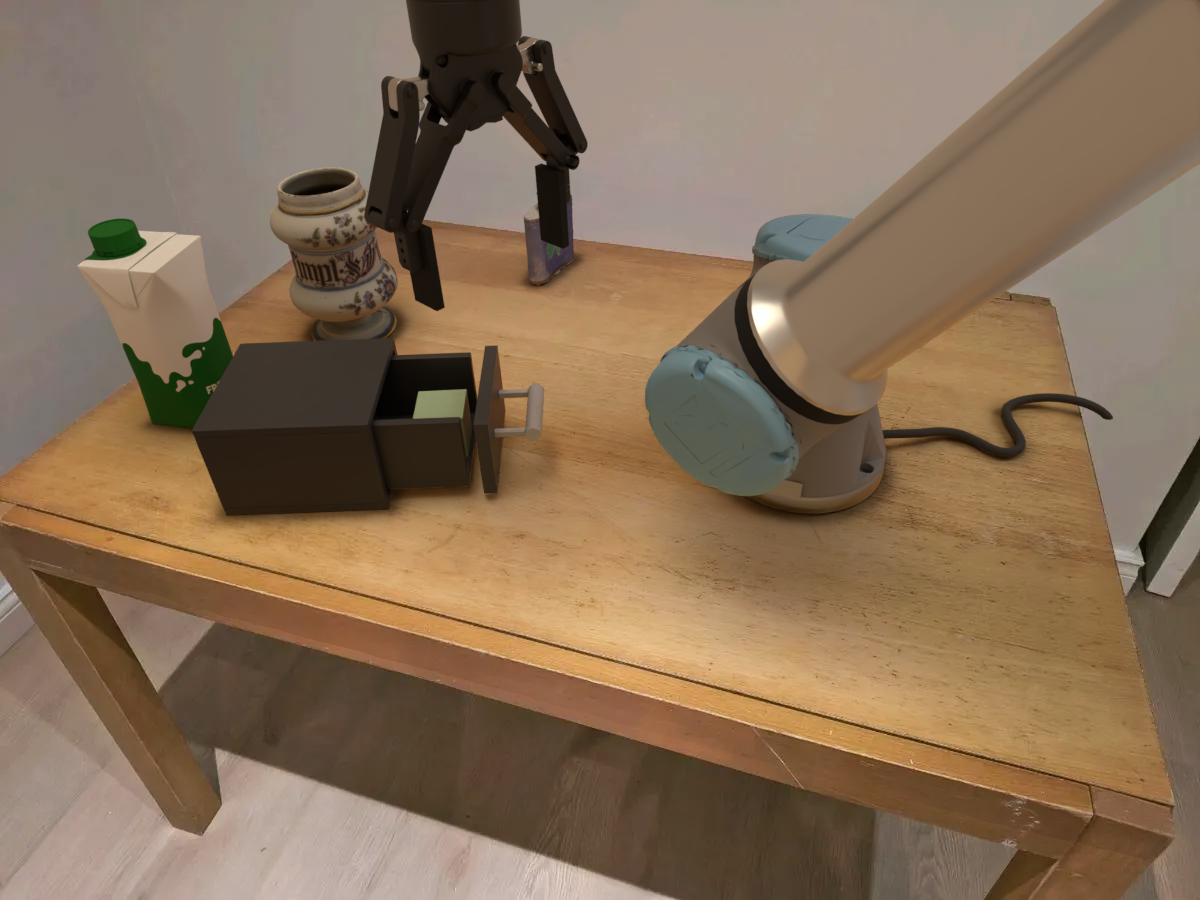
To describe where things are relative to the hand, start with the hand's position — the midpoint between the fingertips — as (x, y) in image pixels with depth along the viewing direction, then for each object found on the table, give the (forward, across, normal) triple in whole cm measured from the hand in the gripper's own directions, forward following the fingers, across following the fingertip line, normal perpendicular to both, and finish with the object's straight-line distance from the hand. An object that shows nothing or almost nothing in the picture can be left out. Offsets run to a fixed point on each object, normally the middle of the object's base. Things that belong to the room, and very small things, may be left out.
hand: (495, 272), depth 71 cm
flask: (+20, -29, -25) cm, 43 cm away
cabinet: (+20, +13, -13) cm, 27 cm away
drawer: (+19, +4, -5) cm, 20 cm away
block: (+18, +4, -5) cm, 19 cm away
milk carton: (+20, +16, -31) cm, 40 cm away
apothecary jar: (+20, -4, -32) cm, 38 cm away
